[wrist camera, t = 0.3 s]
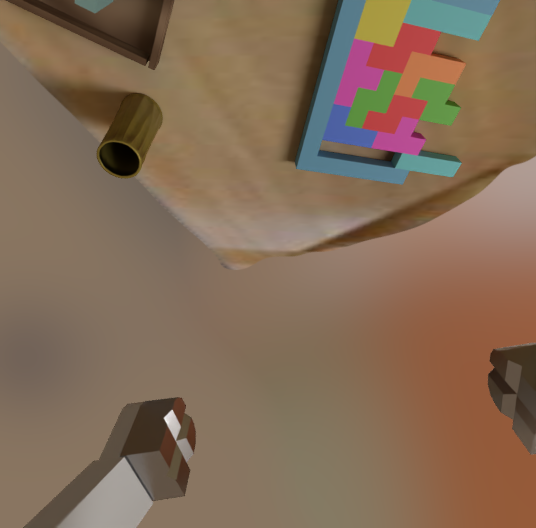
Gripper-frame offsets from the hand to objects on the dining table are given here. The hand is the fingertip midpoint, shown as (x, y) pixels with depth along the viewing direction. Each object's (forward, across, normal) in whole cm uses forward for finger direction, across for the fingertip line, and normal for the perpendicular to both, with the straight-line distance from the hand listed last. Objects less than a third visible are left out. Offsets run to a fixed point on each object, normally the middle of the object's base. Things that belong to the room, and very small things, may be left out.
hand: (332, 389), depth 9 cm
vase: (+51, +20, -8) cm, 55 cm away
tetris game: (+53, -20, -2) cm, 57 cm away
